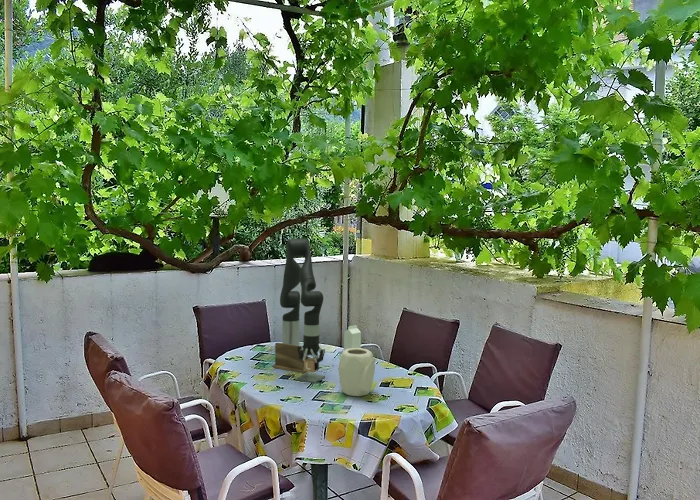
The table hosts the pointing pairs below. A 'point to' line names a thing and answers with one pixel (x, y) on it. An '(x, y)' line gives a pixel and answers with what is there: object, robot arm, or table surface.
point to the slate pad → (310, 378)
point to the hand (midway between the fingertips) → (310, 369)
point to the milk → (352, 337)
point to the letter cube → (309, 365)
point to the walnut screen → (288, 358)
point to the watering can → (356, 371)
